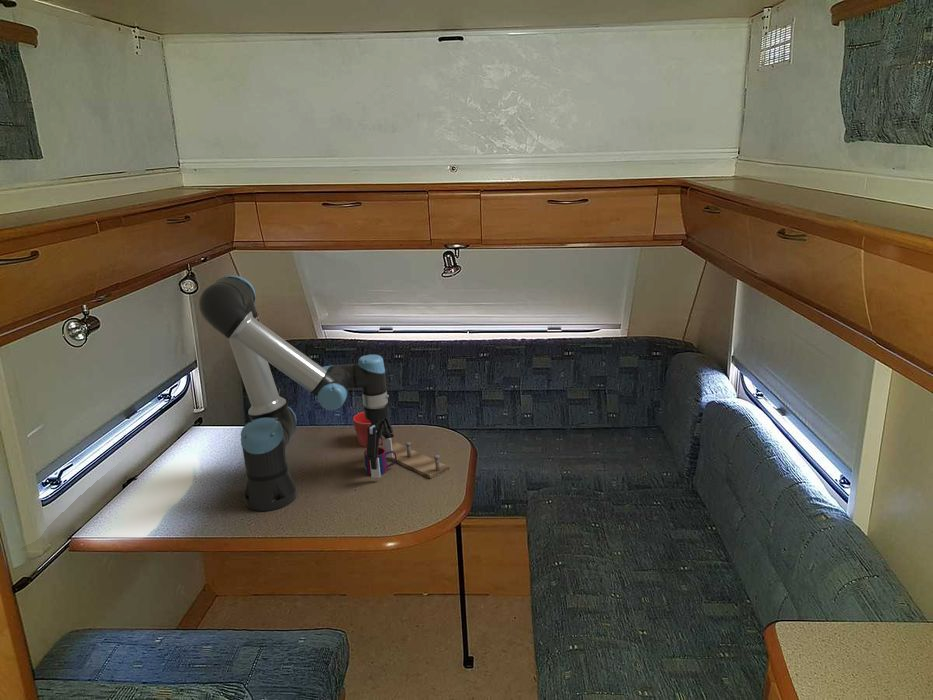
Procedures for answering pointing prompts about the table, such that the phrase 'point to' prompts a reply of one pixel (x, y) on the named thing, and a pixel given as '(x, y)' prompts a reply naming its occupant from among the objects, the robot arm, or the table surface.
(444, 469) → the rail
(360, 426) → the flower pot
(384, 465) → the mug
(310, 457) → the table surface
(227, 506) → the table surface
